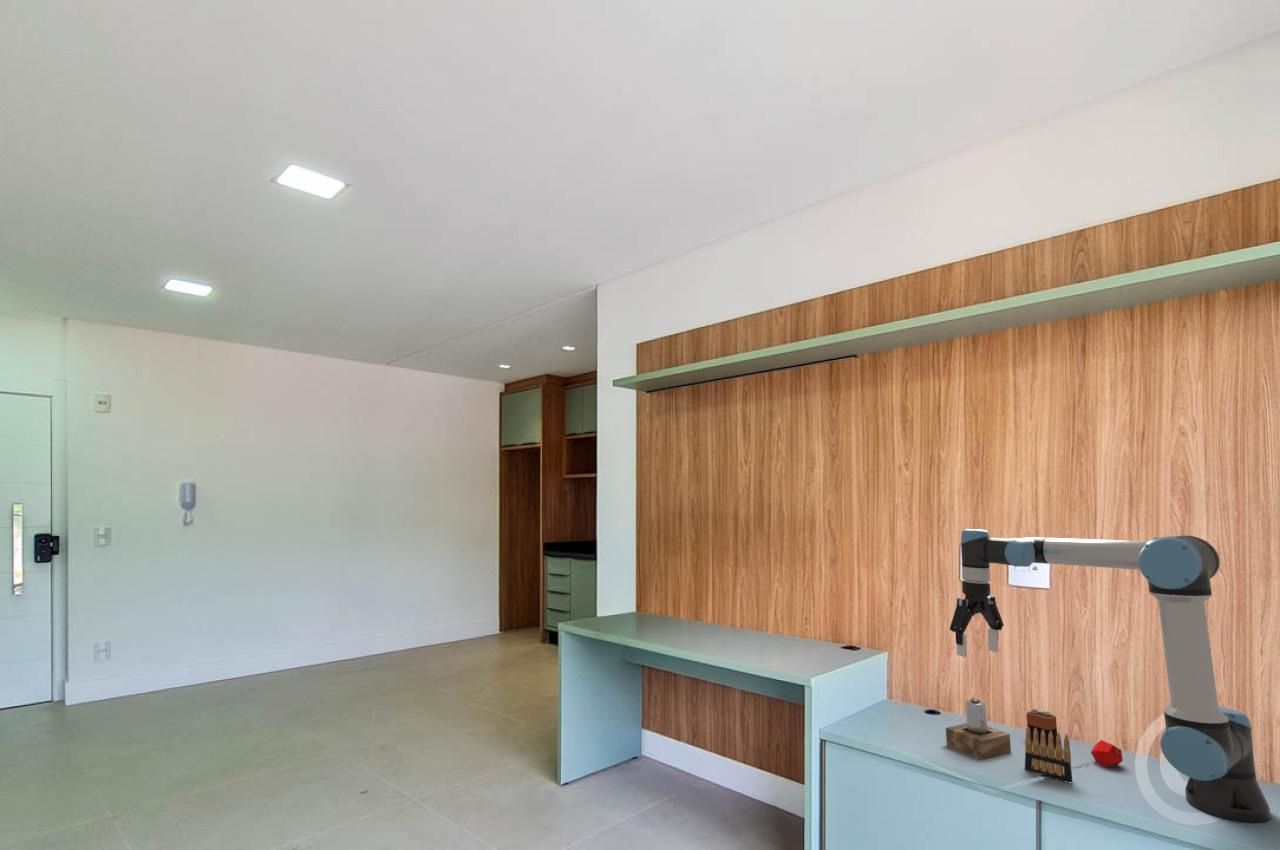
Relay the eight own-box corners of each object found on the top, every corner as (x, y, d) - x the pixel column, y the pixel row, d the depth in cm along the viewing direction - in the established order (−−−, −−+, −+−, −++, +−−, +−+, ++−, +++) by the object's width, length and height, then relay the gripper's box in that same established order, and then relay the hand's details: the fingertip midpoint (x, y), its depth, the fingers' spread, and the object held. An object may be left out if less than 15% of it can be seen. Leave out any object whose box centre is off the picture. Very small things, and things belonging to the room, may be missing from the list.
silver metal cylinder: (992, 750, 191) (989, 701, 193) (980, 753, 189) (977, 703, 191) (976, 744, 196) (973, 696, 198) (964, 747, 194) (961, 698, 195)
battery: (1051, 750, 193) (1048, 715, 194) (1027, 743, 199) (1025, 709, 200) (1059, 747, 196) (1056, 712, 197) (1035, 740, 201) (1032, 706, 202)
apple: (1081, 739, 188) (1104, 737, 181) (1102, 742, 189) (1125, 740, 182) (1087, 766, 184) (1110, 765, 177) (1108, 769, 185) (1132, 768, 178)
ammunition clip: (1024, 771, 177) (1023, 726, 178) (1025, 769, 179) (1024, 724, 180) (1071, 783, 171) (1070, 736, 172) (1072, 780, 172) (1071, 734, 173)
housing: (1011, 755, 190) (1009, 734, 190) (983, 763, 185) (981, 740, 185) (974, 742, 200) (973, 721, 201) (946, 748, 195) (945, 727, 196)
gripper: (992, 577, 205) (994, 646, 203) (935, 581, 195) (937, 654, 193) (1015, 580, 198) (1017, 652, 197) (957, 585, 188) (959, 661, 186)
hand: (977, 653), depth 195 cm, fingers open, 13 cm apart
